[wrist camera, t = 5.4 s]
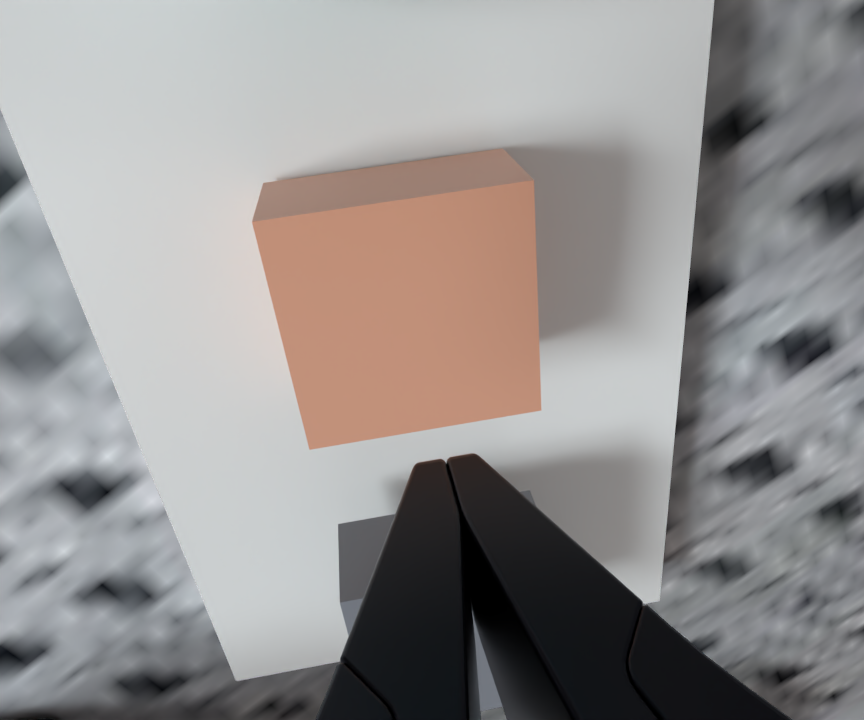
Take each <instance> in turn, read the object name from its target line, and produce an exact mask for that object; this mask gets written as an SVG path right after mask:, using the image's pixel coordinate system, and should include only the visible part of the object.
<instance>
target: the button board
mask: <svg viewBox="0 0 864 720" xmlns="http://www.w3.org/2000/svg"><path fill="white" fill-rule="evenodd" d="M713 10H714V0H0V109H1V112H2V114H3V116H4V119H5V121H6V124H7V126H8V129H9V131H10V133H11V136H12V138H13V141H14V143H15V146H16V148H17V150H18V153H19V155H20V158H21V160H22V163H23V165H24V167H25V170H26V172H27V175H28V177H29V180H30V182H31V184H32V187H33V189H34V192H35V194H36V197H37V199H38V201H39V204H40V206H41V209H42V211H43V214H44V216H45V218H46V221H47V223H48V226H49V228H50V231H51V233H52V235H53V238H54V240H55V243H56V245H57V248H58V250H59V252H60V255H61V257H62V260H63V262H64V265H65V267H66V269H67V272H68V274H69V277H70V279H71V282H72V284H73V286H74V289H75V291H76V294H77V296H78V299H79V301H80V303H81V306H82V308H83V311H84V313H85V316H86V318H87V320H88V323H89V325H90V328H91V330H92V333H93V335H94V337H95V340H96V342H97V345H98V347H99V350H100V352H101V354H102V357H103V359H104V362H105V364H106V367H107V369H108V371H109V374H110V376H111V379H112V381H113V384H114V386H115V388H116V391H117V393H118V396H119V398H120V401H121V403H122V405H123V408H124V410H125V413H126V415H127V418H128V420H129V422H130V425H131V427H132V430H133V432H134V435H135V437H136V439H137V442H138V444H139V447H140V449H141V452H142V454H143V456H144V459H145V461H146V464H147V466H148V469H149V471H150V473H151V476H152V478H153V481H154V483H155V486H156V488H157V490H158V493H159V495H160V498H161V500H162V503H163V505H164V507H165V510H166V512H167V515H168V517H169V519H170V522H171V524H172V527H173V529H174V532H175V534H176V536H177V539H178V541H179V544H180V546H181V549H182V551H183V553H184V556H185V558H186V561H187V563H188V566H189V568H190V570H191V573H192V575H193V578H194V580H195V583H196V585H197V587H198V590H199V592H200V595H201V597H202V600H203V602H204V604H205V607H206V609H207V612H208V614H209V617H210V619H211V621H212V624H213V626H214V629H215V631H216V634H217V636H218V638H219V641H220V643H221V646H222V648H223V651H224V653H225V655H226V658H227V660H228V663H229V665H230V668H231V670H232V672H233V675H234V677H235V680H236V681H240V680H246V679H251V678H256V677H261V676H267V675H272V674H277V673H283V672H288V671H293V670H298V669H304V668H309V667H314V666H320V665H325V664H330V663H335V662H340V657H341V655H342V652H343V650H344V647H345V644H346V642H347V639H348V632H347V628H346V625H345V621H344V617H343V613H342V609H341V605H340V591H339V547H338V524H341V523H347V522H352V521H358V520H364V519H369V518H375V517H381V516H386V515H392V514H395V513H396V511H397V508H398V505H399V503H400V500H401V498H402V495H403V492H404V490H405V487H406V484H407V482H408V479H409V477H410V474H411V471H412V469H413V467H414V465H415V464H416V463H418V462H424V461H430V460H435V459H443V460H444V461H445V462H446V461H447V459H448V458H449V457H453V456H459V455H464V454H470V453H475V454H477V455H479V456H480V457H481V458H482V459H483V460H484V461H486V462H487V463H488V464H489V465H490V466H491V467H492V468H493V469H495V470H496V471H497V472H498V473H499V474H500V475H501V476H502V477H504V478H505V479H506V480H507V481H508V482H509V483H510V484H511V485H513V486H514V487H515V488H516V489H517V490H518V491H519V492H522V491H528V490H530V492H531V494H532V497H533V499H534V502H535V504H536V507H537V508H538V509H540V510H541V511H542V512H543V513H544V514H545V515H546V516H547V517H549V518H550V519H551V520H552V521H553V522H554V523H555V524H556V525H558V526H559V527H560V528H561V529H562V530H563V531H564V532H565V533H567V534H568V535H569V536H570V537H571V538H572V539H573V540H574V541H576V542H577V543H578V544H579V545H580V546H581V547H582V548H583V549H585V550H586V551H587V552H588V553H589V554H590V555H591V556H592V557H594V558H595V559H596V560H597V561H598V562H599V563H600V564H601V565H603V566H604V567H605V568H606V569H607V570H608V571H609V572H610V573H612V574H613V575H614V576H615V577H616V578H617V579H618V580H619V581H621V582H622V583H623V584H624V585H625V586H626V587H627V588H628V589H630V590H631V591H632V592H633V593H634V594H635V595H636V596H637V597H639V598H640V599H641V600H642V602H643V604H647V603H652V602H657V601H660V592H661V581H662V570H663V559H664V548H665V537H666V526H667V515H668V504H669V493H670V482H671V471H672V460H673V449H674V438H675V427H676V416H677V405H678V394H679V383H680V372H681V361H682V350H683V339H684V328H685V317H686V306H687V295H688V285H689V274H690V263H691V252H692V241H693V230H694V219H695V208H696V197H697V186H698V175H699V164H700V153H701V142H702V131H703V120H704V109H705V98H706V87H707V76H708V65H709V54H710V43H711V32H712V21H713ZM501 148H503V149H504V150H505V151H506V152H507V153H508V154H509V155H510V156H511V157H512V158H513V159H514V160H515V161H516V162H517V163H518V164H519V165H520V166H521V167H522V168H523V169H524V170H525V171H526V172H527V174H528V175H529V176H530V177H531V178H532V179H533V180H534V195H535V226H536V257H537V288H538V319H539V350H540V381H541V411H535V412H529V413H523V414H518V415H512V416H506V417H500V418H494V419H488V420H482V421H476V422H470V423H465V424H459V425H453V426H447V427H441V428H435V429H429V430H423V431H417V432H412V433H406V434H400V435H394V436H388V437H382V438H376V439H370V440H364V441H359V442H353V443H347V444H341V445H335V446H329V447H323V448H317V449H311V450H309V446H308V442H307V438H306V434H305V430H304V426H303V422H302V418H301V414H300V411H299V407H298V403H297V399H296V395H295V391H294V387H293V383H292V379H291V375H290V371H289V367H288V363H287V359H286V355H285V351H284V347H283V343H282V339H281V335H280V331H279V327H278V323H277V319H276V316H275V312H274V308H273V304H272V300H271V296H270V292H269V288H268V284H267V280H266V276H265V272H264V268H263V264H262V260H261V256H260V252H259V248H258V244H257V240H256V236H255V232H254V228H253V224H252V220H253V216H254V213H255V209H256V206H257V203H258V199H259V196H260V192H261V189H262V185H263V183H266V182H273V181H280V180H287V179H294V178H301V177H308V176H315V175H322V174H329V173H335V172H342V171H349V170H356V169H363V168H370V167H377V166H384V165H391V164H398V163H404V162H411V161H418V160H425V159H432V158H439V157H446V156H453V155H460V154H467V153H474V152H480V151H487V150H494V149H501Z"/></svg>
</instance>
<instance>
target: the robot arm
mask: <svg viewBox="0 0 864 720" xmlns="http://www.w3.org/2000/svg"><path fill="white" fill-rule="evenodd" d="M472 612H473V615H472ZM473 616H474V621H475V624H476V628H477V631H478V634H479V637H480V641H481V644H482V647H483V650H484V653H485V655H486V658H487V661H488V664H489V667H490V670H491V673H492V676H493V679H494V682H495V685H496V688H497V691H498V694H499V697H500V700H501V703H502V706H503V709H504V712H505V715H506V718H507V720H792V719H791V718H789V717H788V716H787V715H785V714H784V713H782V712H781V711H780V710H778V709H777V708H775V707H774V706H773V705H771V704H770V703H769V702H767V701H766V700H764V699H763V698H762V697H760V696H759V695H757V694H756V693H755V692H753V691H752V690H751V689H749V688H748V687H747V686H745V685H744V684H743V683H741V682H740V681H739V680H737V679H736V678H735V677H733V676H732V675H731V674H729V673H728V672H727V671H725V670H724V669H723V668H722V667H720V666H719V665H718V664H716V663H715V662H714V661H712V660H711V659H710V658H708V657H707V656H706V655H705V654H703V653H702V652H701V651H700V650H699V649H698V648H696V647H695V646H694V645H693V644H692V643H690V642H689V641H688V640H687V639H686V638H684V637H683V636H682V635H681V634H680V633H679V632H677V631H676V630H675V629H674V628H673V627H671V626H670V625H669V624H668V623H667V622H666V621H665V620H663V619H662V618H661V617H660V616H659V615H658V614H657V613H656V612H655V611H653V610H652V609H651V608H650V607H649V606H647V605H644V606H643V602H642V600H641V599H640V598H639V597H637V596H636V595H635V594H634V593H633V592H632V591H631V590H630V589H628V588H627V587H626V586H625V585H624V584H623V583H622V582H621V581H619V580H618V579H617V578H616V577H615V576H614V575H613V574H612V573H610V572H609V571H608V570H607V569H606V568H605V567H604V566H603V565H601V564H600V563H599V562H598V561H597V560H596V559H595V558H594V557H592V556H591V555H590V554H589V553H588V552H587V551H586V550H585V549H583V548H582V547H581V546H580V545H579V544H578V543H577V542H576V541H574V540H573V539H572V538H571V537H570V536H569V535H568V534H567V533H565V532H564V531H563V530H562V529H561V528H560V527H559V526H558V525H556V524H555V523H554V522H553V521H552V520H551V519H550V518H549V517H547V516H546V515H545V514H544V513H543V512H542V511H541V510H540V509H538V508H537V507H536V506H535V505H534V504H533V503H532V502H531V501H529V500H528V499H527V498H526V497H525V496H524V495H523V494H522V493H520V492H519V491H518V490H517V489H516V488H515V487H514V486H513V485H511V484H510V483H509V482H508V481H507V480H506V479H505V478H504V477H502V476H501V475H500V474H499V473H498V472H497V471H496V470H495V469H493V468H492V467H491V466H490V465H489V464H488V463H487V462H486V461H484V460H483V459H482V458H481V457H480V456H479V455H477V454H475V453H470V454H464V455H459V456H453V457H449V458H448V459H447V461H446V462H445V461H444V460H443V459H435V460H430V461H424V462H418V463H416V464H415V465H414V467H413V469H412V471H411V474H410V477H409V479H408V482H407V484H406V487H405V490H404V492H403V495H402V498H401V500H400V503H399V505H398V508H397V511H396V513H395V516H394V518H393V521H392V524H391V526H390V529H389V532H388V534H387V537H386V539H385V542H384V545H383V547H382V550H381V553H380V555H379V558H378V560H377V563H376V566H375V568H374V571H373V574H372V576H371V579H370V581H369V584H368V587H367V589H366V592H365V594H364V597H363V600H362V602H361V605H360V608H359V610H358V613H357V615H356V618H355V621H354V623H353V626H352V629H351V631H350V634H349V636H348V639H347V642H346V644H345V647H344V650H343V652H342V655H341V657H340V662H341V663H339V664H338V665H337V667H336V670H335V672H334V675H333V677H332V680H331V683H330V685H329V688H328V691H327V693H326V696H325V698H324V700H323V703H322V705H321V707H320V710H319V712H318V715H317V717H316V719H315V720H481V712H480V698H479V684H478V671H477V657H476V644H475V633H474V624H473ZM38 720H53V719H38Z"/></svg>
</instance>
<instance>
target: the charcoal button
mask: <svg viewBox="0 0 864 720" xmlns="http://www.w3.org/2000/svg"><path fill="white" fill-rule="evenodd" d="M520 493H522V494H523V495H524V496H525V497H526V498H527V499H528V500H529V501H531V502H532V503H533V504H534V505H535V506H536V504H535V502H534V499H533V497H532V494H531V492H530V490H528V491H522V492H520ZM394 516H395V514H392V515H386V516H381V517H375V518H369V519H364V520H358V521H352V522H347V523H341V524H338V547H339V591H340V605H341V609H342V613H343V617H344V621H345V625H346V628H347V632H348V636H349V634H350V631H351V629H352V626H353V623H354V621H355V618H356V615H357V613H358V610H359V608H360V605H361V602H362V600H363V597H364V594H365V592H366V589H367V587H368V584H369V581H370V579H371V576H372V574H373V571H374V568H375V566H376V563H377V560H378V558H379V555H380V553H381V550H382V547H383V545H384V542H385V539H386V537H387V534H388V532H389V529H390V526H391V524H392V521H393V518H394ZM472 615H473V612H472ZM473 624H474V633H475V644H476V657H477V671H478V684H479V698H480V711H485V710H490V709H495V708H500V707H503V706H502V703H501V700H500V697H499V694H498V691H497V688H496V685H495V682H494V679H493V676H492V673H491V670H490V667H489V664H488V661H487V658H486V655H485V653H484V650H483V647H482V644H481V641H480V637H479V634H478V631H477V628H476V624H475V621H474V616H473Z"/></svg>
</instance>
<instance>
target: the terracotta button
mask: <svg viewBox="0 0 864 720" xmlns="http://www.w3.org/2000/svg"><path fill="white" fill-rule="evenodd" d="M252 224H253V228H254V232H255V236H256V240H257V244H258V248H259V252H260V256H261V260H262V264H263V268H264V272H265V276H266V280H267V284H268V288H269V292H270V296H271V300H272V304H273V308H274V312H275V316H276V319H277V323H278V327H279V331H280V335H281V339H282V343H283V347H284V351H285V355H286V359H287V363H288V367H289V371H290V375H291V379H292V383H293V387H294V391H295V395H296V399H297V403H298V407H299V411H300V414H301V418H302V422H303V426H304V430H305V434H306V438H307V442H308V446H309V450H311V449H317V448H323V447H329V446H335V445H341V444H347V443H353V442H359V441H364V440H370V439H376V438H382V437H388V436H394V435H400V434H406V433H412V432H417V431H423V430H429V429H435V428H441V427H447V426H453V425H459V424H465V423H470V422H476V421H482V420H488V419H494V418H500V417H506V416H512V415H518V414H523V413H529V412H535V411H541V381H540V350H539V319H538V288H537V257H536V226H535V195H534V180H533V179H532V178H531V177H530V176H529V175H528V174H527V172H526V171H525V170H524V169H523V168H522V167H521V166H520V165H519V164H518V163H517V162H516V161H515V160H514V159H513V158H512V157H511V156H510V155H509V154H508V153H507V152H506V151H505V150H504V149H503V148H501V149H494V150H487V151H480V152H474V153H467V154H460V155H453V156H446V157H439V158H432V159H425V160H418V161H411V162H404V163H398V164H391V165H384V166H377V167H370V168H363V169H356V170H349V171H342V172H335V173H329V174H322V175H315V176H308V177H301V178H294V179H287V180H280V181H273V182H266V183H263V185H262V189H261V192H260V196H259V199H258V203H257V206H256V209H255V213H254V216H253V220H252Z"/></svg>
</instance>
